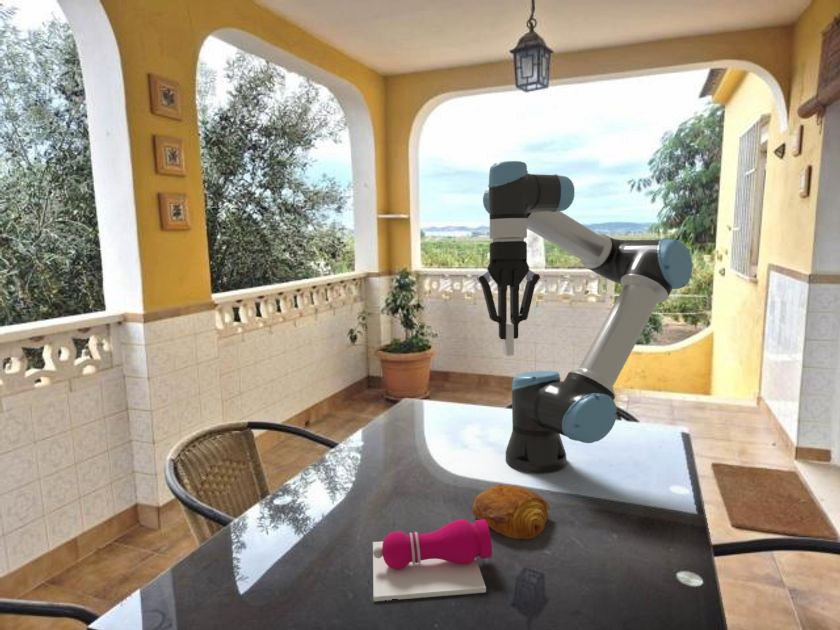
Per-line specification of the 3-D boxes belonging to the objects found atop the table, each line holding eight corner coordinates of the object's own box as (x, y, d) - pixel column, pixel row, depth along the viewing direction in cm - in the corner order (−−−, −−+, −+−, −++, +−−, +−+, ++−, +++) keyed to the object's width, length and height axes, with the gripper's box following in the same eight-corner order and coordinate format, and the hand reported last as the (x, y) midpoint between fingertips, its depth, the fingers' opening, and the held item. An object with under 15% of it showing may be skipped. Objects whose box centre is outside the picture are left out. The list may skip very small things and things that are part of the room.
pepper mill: (484, 544, 99) (374, 559, 97) (482, 508, 98) (370, 522, 96) (494, 569, 92) (375, 586, 90) (491, 530, 90) (371, 546, 89)
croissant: (508, 560, 100) (511, 522, 98) (460, 514, 113) (461, 480, 111) (565, 535, 107) (569, 499, 105) (513, 495, 120) (516, 462, 118)
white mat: (468, 539, 103) (468, 535, 103) (486, 592, 87) (485, 587, 87) (373, 546, 102) (372, 542, 101) (373, 601, 86) (373, 596, 86)
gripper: (533, 239, 115) (533, 349, 118) (473, 241, 114) (474, 352, 117) (545, 239, 108) (544, 356, 111) (480, 241, 106) (481, 359, 109)
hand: (508, 354), depth 114 cm, fingers closed
